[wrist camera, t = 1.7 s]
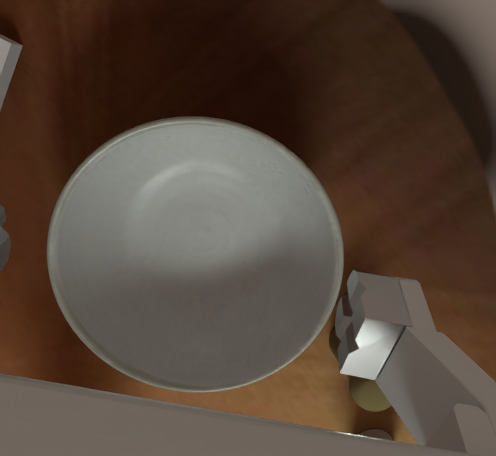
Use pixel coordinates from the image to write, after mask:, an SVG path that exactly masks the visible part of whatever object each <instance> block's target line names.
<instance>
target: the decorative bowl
mask: <svg viewBox="0 0 496 456" xmlns="http://www.w3.org/2000/svg"><path fill="white" fill-rule="evenodd" d="M47 264H48V272H49V277H50V282H51V285H52V289H53V292H54V295H55V297H56V300H57V303H58V305H59V307H60V309H61V311H62V313H63V315H64V317H65V318H66V320H67V322H68V323H69V325H70V326H71V328H72V329H73V331H74V332H75V333H76V334H77V336H78V337H79V338H80V339H81V340H82V342H83V343H84V344H85V345H86V346H87V347H88V348H89V349H90V350H91V351H92V352H93V353H95V354H96V355H97V356H98V357H99V358H101V359H102V360H103V361H104V362H106V363H107V364H109V365H110V366H112V367H113V368H115V369H116V370H118V371H120V372H122V373H123V374H125V375H127V376H129V377H131V378H134V379H136V380H138V381H141V382H143V383H146V384H149V385H152V386H156V387H160V388H164V389H169V390H174V391H182V392H216V391H223V390H229V389H234V388H238V387H242V386H245V385H248V384H251V383H254V382H256V381H259V380H261V379H264V378H266V377H268V376H270V375H272V374H273V373H275V372H277V371H279V370H280V369H282V368H283V367H285V366H286V365H288V364H289V363H290V362H292V361H293V360H294V359H295V358H297V357H298V356H299V355H300V354H301V353H302V352H303V351H304V350H305V349H306V348H307V347H308V346H309V345H310V344H311V343H312V342H313V341H314V339H315V338H316V337H317V335H318V334H319V333H320V331H321V330H322V328H323V327H324V325H325V324H326V322H327V320H328V318H329V316H330V315H331V312H332V310H333V308H334V306H335V303H336V300H337V297H338V294H339V290H340V287H341V282H342V276H343V266H344V249H343V239H342V233H341V229H340V225H339V221H338V218H337V215H336V212H335V209H334V207H333V205H332V202H331V200H330V198H329V196H328V194H327V193H326V191H325V189H324V188H323V186H322V184H321V183H320V181H319V180H318V179H317V177H316V176H315V175H314V173H313V172H312V171H311V170H310V169H309V168H308V166H307V165H306V164H305V163H304V162H303V161H302V160H301V159H300V158H299V157H297V156H296V155H295V154H294V153H293V152H292V151H290V150H289V149H288V148H287V147H285V146H284V145H282V144H281V143H279V142H278V141H276V140H275V139H273V138H271V137H270V136H268V135H266V134H264V133H262V132H260V131H258V130H255V129H253V128H251V127H248V126H245V125H242V124H240V123H236V122H232V121H229V120H224V119H218V118H212V117H202V116H184V117H172V118H165V119H160V120H156V121H151V122H148V123H145V124H142V125H138V126H136V127H134V128H131V129H129V130H126V131H124V132H122V133H120V134H119V135H117V136H115V137H113V138H112V139H110V140H108V141H107V142H105V143H104V144H103V145H101V146H100V147H99V148H97V149H96V150H95V151H94V152H92V153H91V154H90V155H89V156H88V157H87V158H86V159H85V160H84V161H83V162H82V163H81V164H80V165H79V166H78V168H77V169H76V170H75V171H74V173H73V174H72V175H71V177H70V178H69V180H68V181H67V183H66V184H65V186H64V188H63V190H62V192H61V193H60V195H59V198H58V200H57V202H56V205H55V207H54V210H53V214H52V217H51V221H50V225H49V231H48V238H47Z"/></svg>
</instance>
